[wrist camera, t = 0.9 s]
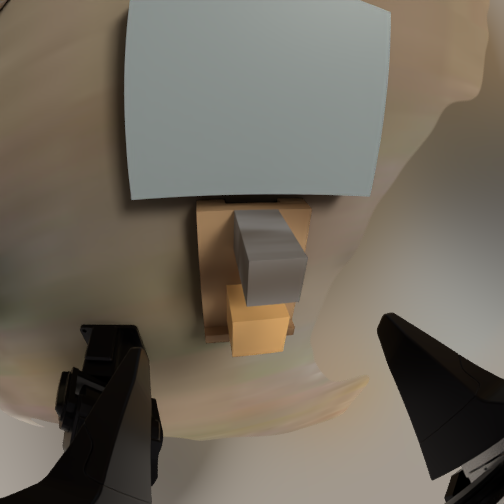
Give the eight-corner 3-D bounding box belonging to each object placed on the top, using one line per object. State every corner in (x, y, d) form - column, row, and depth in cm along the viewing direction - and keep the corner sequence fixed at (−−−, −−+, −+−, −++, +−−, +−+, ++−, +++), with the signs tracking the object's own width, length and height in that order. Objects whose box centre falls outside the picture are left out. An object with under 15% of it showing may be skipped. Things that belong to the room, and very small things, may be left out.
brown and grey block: (284, 311, 28) (309, 378, 21) (203, 317, 26) (210, 391, 19) (301, 197, 21) (350, 254, 14) (196, 199, 20) (196, 263, 13)
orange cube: (271, 316, 24) (282, 351, 21) (226, 320, 24) (232, 356, 20) (276, 281, 22) (289, 316, 19) (226, 285, 22) (232, 322, 18)
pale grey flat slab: (350, 182, 21) (369, 196, 18) (140, 184, 18) (131, 199, 16) (367, 18, 13) (390, 12, 11) (142, -4, 11) (132, -19, 8)
